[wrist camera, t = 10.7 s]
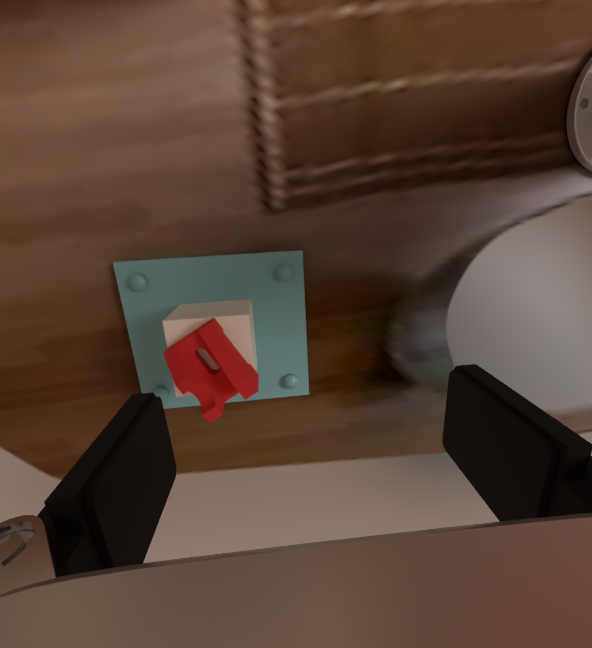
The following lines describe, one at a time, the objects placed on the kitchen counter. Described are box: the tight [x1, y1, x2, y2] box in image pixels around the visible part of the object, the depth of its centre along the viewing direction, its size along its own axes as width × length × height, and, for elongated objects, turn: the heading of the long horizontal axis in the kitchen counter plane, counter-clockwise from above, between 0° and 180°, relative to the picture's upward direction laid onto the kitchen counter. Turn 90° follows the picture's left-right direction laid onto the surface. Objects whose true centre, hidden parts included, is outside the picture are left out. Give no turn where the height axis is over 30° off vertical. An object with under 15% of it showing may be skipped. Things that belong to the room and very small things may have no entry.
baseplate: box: [113, 250, 309, 409], centre depth 33 cm, size 18×16×2 cm
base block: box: [163, 299, 257, 397], centre depth 30 cm, size 7×7×6 cm
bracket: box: [163, 318, 259, 423], centre depth 25 cm, size 6×5×3 cm
